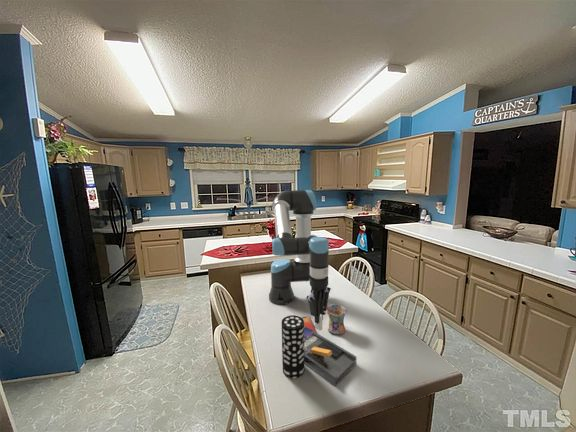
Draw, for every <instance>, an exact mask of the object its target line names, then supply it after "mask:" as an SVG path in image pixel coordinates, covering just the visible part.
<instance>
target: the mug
mask: <svg viewBox="0 0 576 432" xmlns="http://www.w3.org/2000/svg"><path fill="white" fill-rule="evenodd" d="M326 312H327V314H328V324H327V326H326V327H327V330H328V332H329V333H331V334H333V335H342V334H343V333H345V331H346V327H345V324H344V322H345V316H346V314H347V308H346V307H345V306H343V305H342V304H334V303H333V304H330V305H327V310H326Z"/></svg>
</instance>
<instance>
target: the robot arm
mask: <svg viewBox="0 0 576 432" xmlns="http://www.w3.org/2000/svg"><path fill="white" fill-rule="evenodd" d="M271 210H272V212H273V213H274V214H273V215H274V225H275V226H274V227H275V238H273V239H272V240H271V246H272V248H271V249H272V255H273V256H280V257H284V256H295V257H294V258H293V261H291V260H290V259H287V258H280V259H277V260H275V261H272V263H271V265H270V275H271V276H270V278H271V279H270V280H271V283H270V284H271V287H270V292H269V294H268V300H269V302H270V303H272V304H275V305H287V304H290V303H292V302H293V301H294V300H295V294H294V290H293V288H292V283H298V282H305V283H306V282H309V286H310V287H311V289H310V294H309V295H306V300H307V301H308V302H307V303H308V307H309V311H310V315H311V317H314V327H315V330H318V331H319V332H321V331H323V320H324V316H325V315H326V312H327V307H328V302H329V296H330V291H331V290H332V288H331V287H329V256H330V255H329V254H330V253H329V252H330V251H329V249H330V246H329V245H330V244H329V240H328V238H326V237H324V236H317V235H315V234H312V231H311V230H312V228H311V227H312V225H311V224H312V221H311V220H312V219H311V218H312V216H313V215H314V211H316V210H317V199H316V195H315V192H314V191H313V190H311V189H302V190H301V189H299V190H298V189H297V190H295V189H293V190H290V189H289V190H284V191H282V192H280V193H278V194H277V195H276V196H275V197H274V199H273V201H272V204H271ZM291 211H292V212H293V213H292V214H293V215H294V216H295V234H296V235H295V237H293V231H292V225H291V218H290V212H291Z"/></svg>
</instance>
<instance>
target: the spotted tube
mask: <svg viewBox="0 0 576 432" xmlns="http://www.w3.org/2000/svg"><path fill="white" fill-rule="evenodd" d="M301 317H302V316H298V315H294V314H293V315H292V314H291V315H290V314H289V315H286V316H285V317H283V318H282V320H281V354H282V355H281V357H282V358H281V362H282V373H283V375H284V376H285V377H287V378H290V379H298V378H300V377H302V376H303V375H304V373H305V364H304V339H305V338H304V320H303V319H302V318H301Z"/></svg>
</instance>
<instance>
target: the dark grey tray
mask: <svg viewBox="0 0 576 432" xmlns="http://www.w3.org/2000/svg"><path fill="white" fill-rule="evenodd" d="M316 332H317V331H316ZM316 332H314V331H312V334H311V335H309V336H308V337H307V338H304V365H306V366H307V367H308V368H310V369H311V370H312V371H314V373H316V374H318V375H319V376H320V377H322V379H325V380H326V381H327V382H329V383H330V384H331V385H333V386H334V387H336V386H337V385H338V384H339V383H340V382H341V381H342V380H343V379H344V378H345V377H346V376H347V375H348V374H349V373H350V371H352V370H353V369H354V367H356V365H357V356H356V355H355V354H353V353H351V352H349V351H348V350H347V349H344V348H342V347H341V346H340V345H338V344H336V343H334V342H332V341H331V340H329V339H328V338H327V337H324V336H322V335H321V334H319V333H316ZM313 347H318V348H323V349H327V350H331V351H332V355H331V356H330V357H325V356H321V355H317V354H313V353H311V349H312V348H313Z"/></svg>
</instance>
